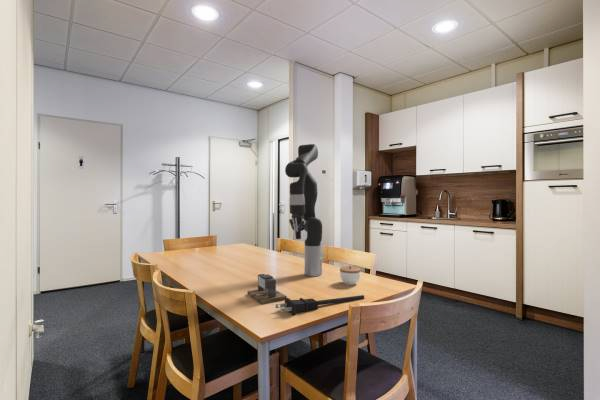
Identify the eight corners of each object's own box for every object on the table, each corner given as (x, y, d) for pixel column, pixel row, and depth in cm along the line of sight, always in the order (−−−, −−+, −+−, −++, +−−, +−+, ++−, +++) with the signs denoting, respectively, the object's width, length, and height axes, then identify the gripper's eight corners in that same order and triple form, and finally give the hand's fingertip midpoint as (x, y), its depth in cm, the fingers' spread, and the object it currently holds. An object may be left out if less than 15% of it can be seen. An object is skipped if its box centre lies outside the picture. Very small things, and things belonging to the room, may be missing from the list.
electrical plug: (273, 310, 128) (274, 298, 128) (357, 299, 147) (357, 289, 147) (282, 318, 120) (282, 305, 120) (369, 305, 139) (369, 294, 139)
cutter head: (258, 291, 146) (258, 275, 146) (268, 289, 149) (268, 273, 149) (264, 295, 140) (264, 278, 140) (275, 293, 143) (274, 277, 143)
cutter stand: (247, 294, 148) (247, 275, 148) (270, 290, 154) (270, 271, 154) (261, 304, 135) (261, 283, 134) (286, 299, 141) (286, 279, 141)
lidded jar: (361, 281, 170) (361, 263, 170) (359, 287, 160) (359, 268, 160) (341, 279, 173) (341, 262, 173) (338, 285, 163) (338, 267, 163)
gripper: (283, 203, 158) (284, 238, 159) (298, 204, 147) (299, 241, 148) (296, 203, 163) (297, 236, 163) (311, 203, 152) (312, 239, 152)
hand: (298, 239), depth 156 cm, fingers closed
